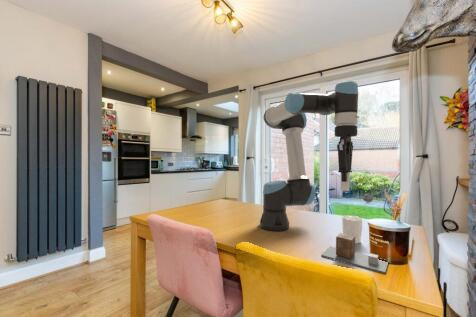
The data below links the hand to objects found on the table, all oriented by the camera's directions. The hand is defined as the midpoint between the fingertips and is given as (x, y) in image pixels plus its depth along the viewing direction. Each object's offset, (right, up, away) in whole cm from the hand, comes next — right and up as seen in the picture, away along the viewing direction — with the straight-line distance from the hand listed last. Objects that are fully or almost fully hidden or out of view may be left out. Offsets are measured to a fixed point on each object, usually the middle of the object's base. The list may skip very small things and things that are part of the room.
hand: (344, 190), depth 85 cm
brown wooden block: (0, -23, 0) cm, 23 cm away
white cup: (+10, -24, +16) cm, 31 cm away
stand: (+2, -24, -2) cm, 25 cm away
